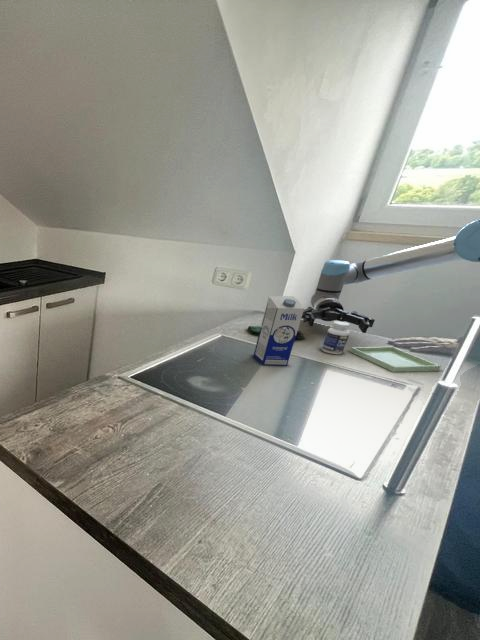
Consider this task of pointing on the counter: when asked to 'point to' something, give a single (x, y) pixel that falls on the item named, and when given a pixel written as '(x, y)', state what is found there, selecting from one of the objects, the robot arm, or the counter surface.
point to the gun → (256, 330)
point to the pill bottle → (336, 338)
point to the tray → (394, 359)
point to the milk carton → (278, 330)
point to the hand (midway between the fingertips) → (338, 325)
